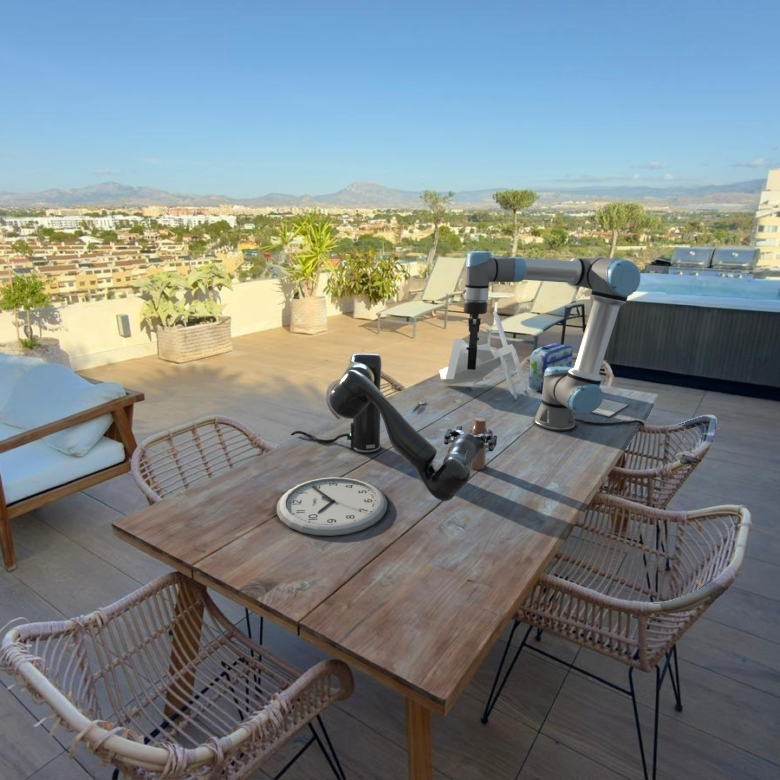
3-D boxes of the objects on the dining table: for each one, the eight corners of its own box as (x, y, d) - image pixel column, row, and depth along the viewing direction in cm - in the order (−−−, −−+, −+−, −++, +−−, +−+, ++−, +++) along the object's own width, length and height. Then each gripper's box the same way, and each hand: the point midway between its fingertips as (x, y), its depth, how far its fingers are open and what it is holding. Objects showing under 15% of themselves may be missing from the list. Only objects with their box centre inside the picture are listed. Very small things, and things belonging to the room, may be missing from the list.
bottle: (484, 463, 170) (487, 417, 165) (485, 470, 165) (488, 422, 160) (469, 462, 170) (472, 416, 165) (469, 469, 166) (473, 421, 161)
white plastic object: (461, 429, 252) (437, 405, 227) (444, 352, 274) (420, 323, 250) (535, 404, 240) (518, 377, 215) (510, 326, 262) (492, 293, 237)
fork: (410, 411, 216) (410, 407, 215) (421, 400, 230) (421, 396, 229) (416, 412, 215) (416, 408, 214) (427, 401, 229) (427, 396, 228)
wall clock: (392, 527, 129) (268, 531, 127) (391, 533, 130) (269, 537, 127) (383, 473, 158) (282, 475, 155) (383, 478, 158) (282, 480, 156)
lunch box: (544, 395, 239) (549, 351, 233) (524, 390, 247) (528, 347, 240) (571, 384, 257) (577, 343, 251) (552, 380, 264) (556, 339, 258)
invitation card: (608, 416, 214) (573, 407, 224) (608, 416, 214) (573, 408, 224) (628, 404, 229) (594, 396, 238) (628, 405, 229) (594, 397, 238)
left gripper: (436, 460, 142) (450, 438, 157) (489, 469, 138) (498, 445, 152) (438, 435, 140) (452, 415, 155) (491, 443, 136) (500, 421, 150)
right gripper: (465, 295, 182) (461, 355, 188) (463, 305, 158) (459, 373, 164) (487, 296, 180) (482, 356, 187) (488, 306, 157) (483, 374, 163)
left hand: (475, 430), depth 154 cm, fingers open, 8 cm apart
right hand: (471, 364), depth 176 cm, fingers open, 13 cm apart
